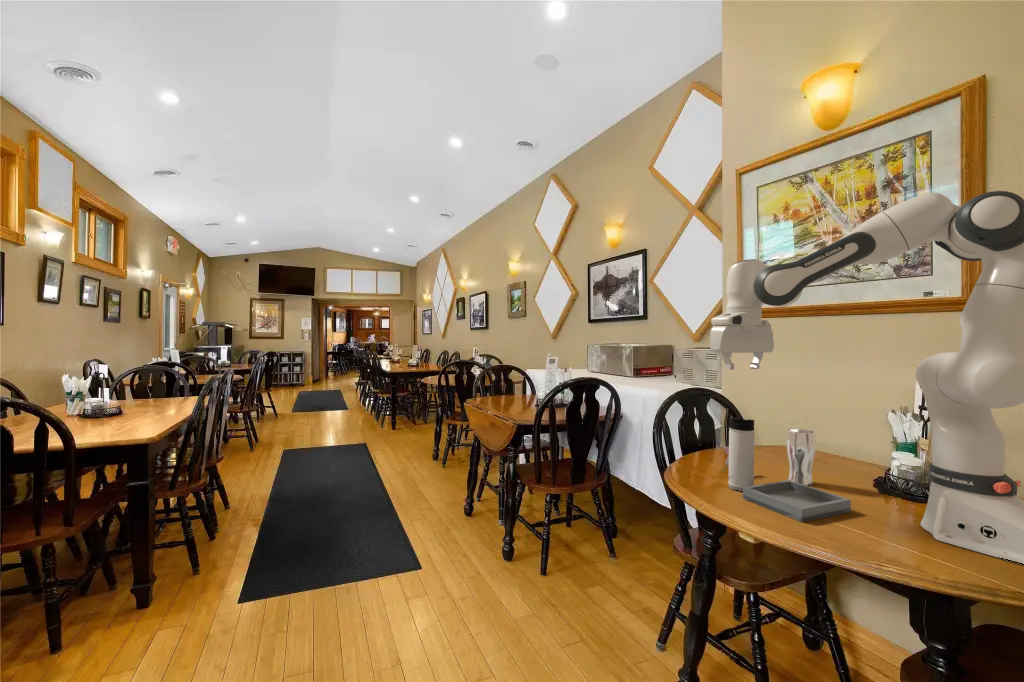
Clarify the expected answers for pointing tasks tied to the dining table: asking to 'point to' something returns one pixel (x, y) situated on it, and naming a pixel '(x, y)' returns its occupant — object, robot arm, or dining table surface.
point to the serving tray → (797, 500)
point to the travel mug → (741, 453)
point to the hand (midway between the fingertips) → (742, 369)
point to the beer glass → (801, 455)
